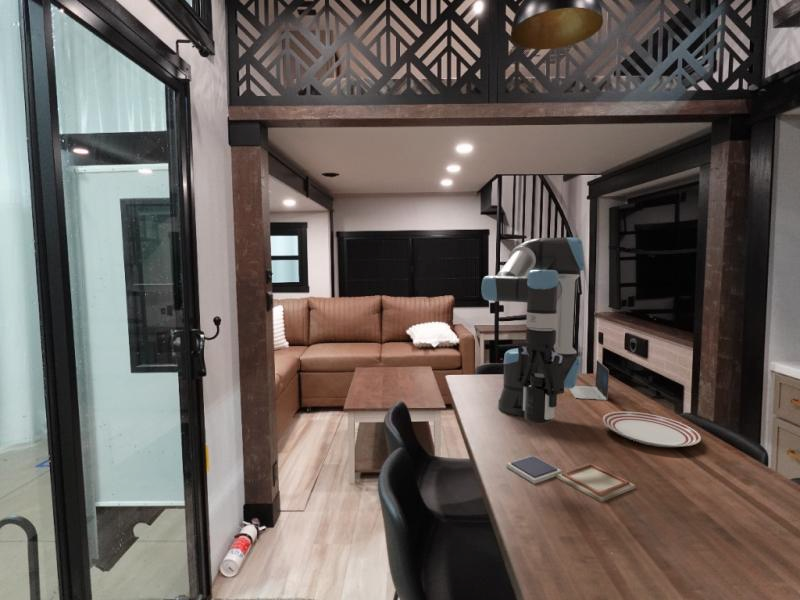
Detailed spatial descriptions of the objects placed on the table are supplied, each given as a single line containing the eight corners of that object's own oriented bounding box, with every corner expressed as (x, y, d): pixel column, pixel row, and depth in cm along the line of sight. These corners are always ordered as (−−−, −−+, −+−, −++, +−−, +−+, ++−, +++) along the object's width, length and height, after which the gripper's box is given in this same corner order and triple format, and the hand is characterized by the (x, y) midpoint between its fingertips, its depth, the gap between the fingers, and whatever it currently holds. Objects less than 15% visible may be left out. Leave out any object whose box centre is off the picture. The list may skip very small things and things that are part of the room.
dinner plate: (684, 425, 146) (685, 416, 145) (714, 460, 120) (715, 449, 120) (597, 415, 155) (598, 407, 154) (608, 446, 129) (608, 436, 129)
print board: (556, 477, 110) (556, 472, 110) (589, 465, 116) (589, 461, 116) (601, 502, 99) (601, 496, 98) (635, 488, 105) (635, 482, 105)
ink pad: (506, 467, 115) (506, 462, 115) (532, 458, 120) (533, 454, 120) (534, 483, 107) (534, 478, 107) (561, 474, 112) (561, 469, 111)
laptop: (566, 386, 191) (567, 358, 190) (596, 388, 188) (597, 359, 187) (575, 399, 173) (576, 368, 172) (608, 401, 171) (609, 370, 170)
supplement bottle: (553, 425, 109) (555, 379, 108) (525, 423, 110) (527, 377, 109) (549, 415, 115) (550, 372, 114) (523, 414, 117) (524, 371, 116)
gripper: (503, 324, 117) (501, 405, 119) (562, 335, 100) (558, 429, 102) (523, 323, 121) (520, 401, 123) (583, 332, 104) (579, 423, 106)
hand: (537, 413), depth 112 cm, fingers closed on supplement bottle, 7 cm apart
